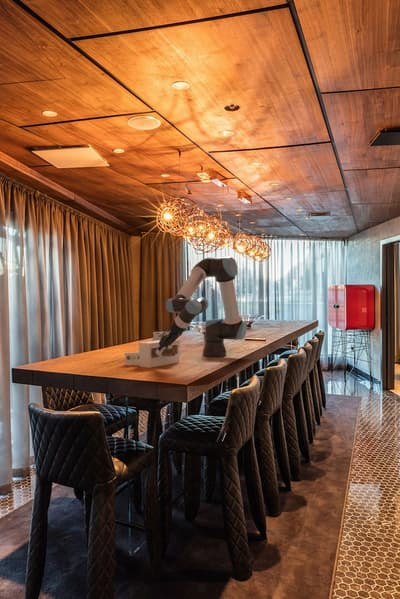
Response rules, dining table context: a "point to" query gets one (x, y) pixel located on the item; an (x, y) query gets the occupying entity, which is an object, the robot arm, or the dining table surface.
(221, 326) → the robot arm
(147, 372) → the dining table surface
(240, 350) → the dining table surface
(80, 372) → the dining table surface
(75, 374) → the dining table surface
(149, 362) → the console
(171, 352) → the plunger middle
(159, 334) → the candy bar box
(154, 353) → the plunger
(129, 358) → the card
